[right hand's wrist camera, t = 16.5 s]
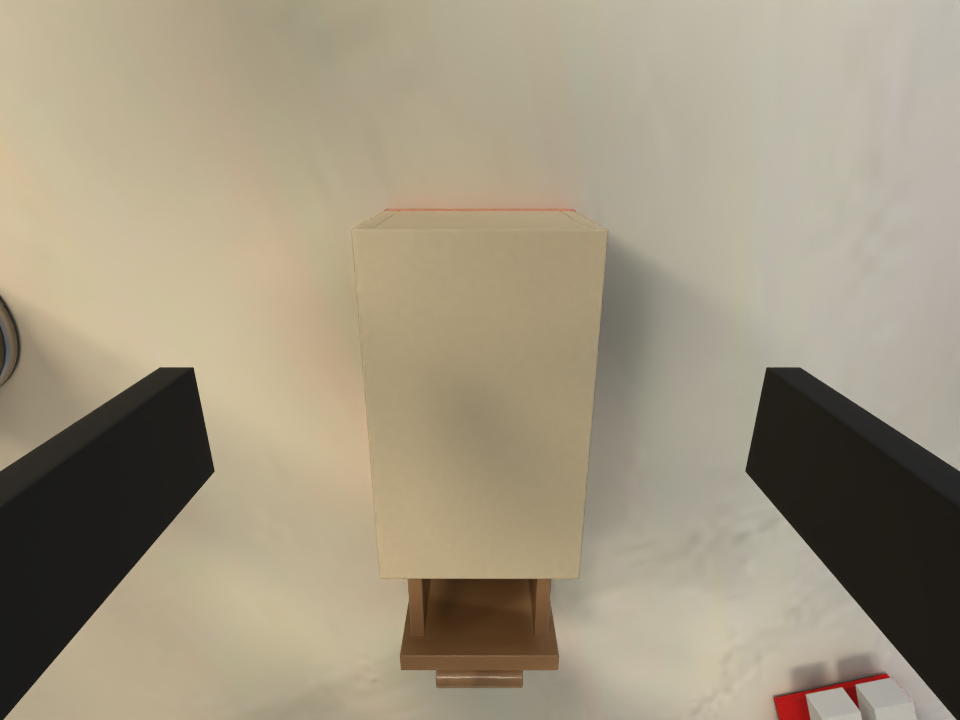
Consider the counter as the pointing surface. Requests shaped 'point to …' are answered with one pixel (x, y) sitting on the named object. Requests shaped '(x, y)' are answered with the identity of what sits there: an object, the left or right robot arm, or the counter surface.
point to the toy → (849, 702)
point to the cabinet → (479, 387)
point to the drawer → (479, 631)
